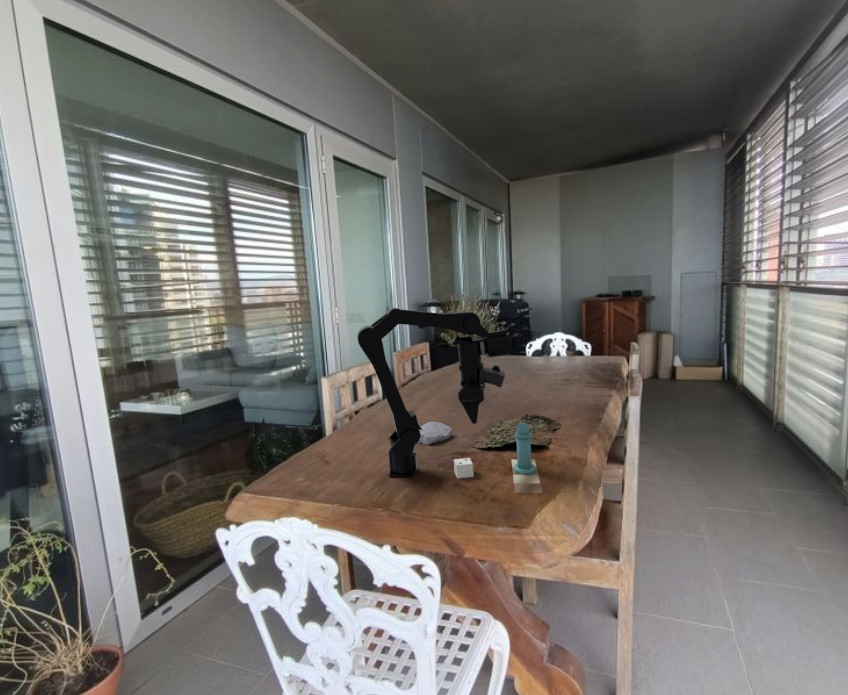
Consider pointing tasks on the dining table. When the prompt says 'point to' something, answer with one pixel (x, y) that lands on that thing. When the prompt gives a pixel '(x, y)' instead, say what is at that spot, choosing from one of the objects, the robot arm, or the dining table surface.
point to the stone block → (434, 432)
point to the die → (463, 468)
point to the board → (526, 480)
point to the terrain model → (509, 427)
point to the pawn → (523, 451)
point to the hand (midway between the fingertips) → (475, 418)
